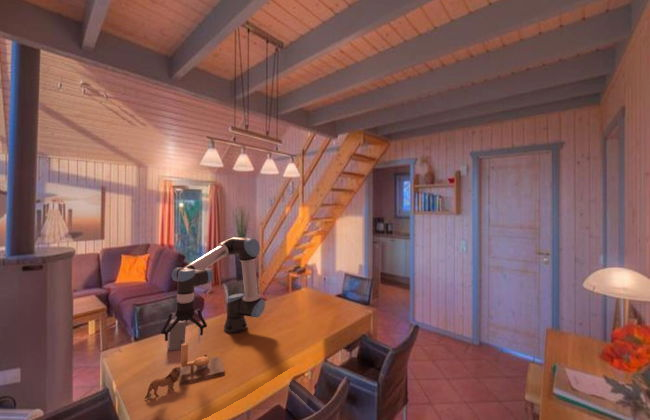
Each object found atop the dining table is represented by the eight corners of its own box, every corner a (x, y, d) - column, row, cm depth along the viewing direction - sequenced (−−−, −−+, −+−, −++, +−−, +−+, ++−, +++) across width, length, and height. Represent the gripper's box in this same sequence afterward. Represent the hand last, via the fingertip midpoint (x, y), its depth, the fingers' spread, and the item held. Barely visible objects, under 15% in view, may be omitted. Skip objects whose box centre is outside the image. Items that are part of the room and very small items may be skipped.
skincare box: (167, 351, 163) (167, 323, 163) (170, 345, 170) (171, 319, 170) (183, 349, 165) (183, 322, 166) (185, 344, 172) (186, 317, 172)
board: (220, 359, 155) (220, 348, 155) (224, 374, 141) (224, 362, 141) (179, 368, 146) (179, 356, 146) (179, 385, 132) (179, 372, 132)
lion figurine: (177, 382, 134) (178, 363, 134) (182, 387, 130) (183, 367, 130) (142, 397, 123) (142, 376, 123) (146, 403, 119) (147, 381, 119)
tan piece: (208, 357, 148) (208, 337, 148) (209, 364, 142) (210, 342, 142) (180, 363, 142) (181, 342, 142) (180, 370, 136) (181, 348, 136)
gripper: (211, 296, 149) (210, 336, 149) (156, 302, 138) (155, 346, 137) (213, 300, 143) (212, 342, 142) (155, 306, 131) (154, 353, 131)
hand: (184, 344), depth 140 cm, fingers open, 13 cm apart
